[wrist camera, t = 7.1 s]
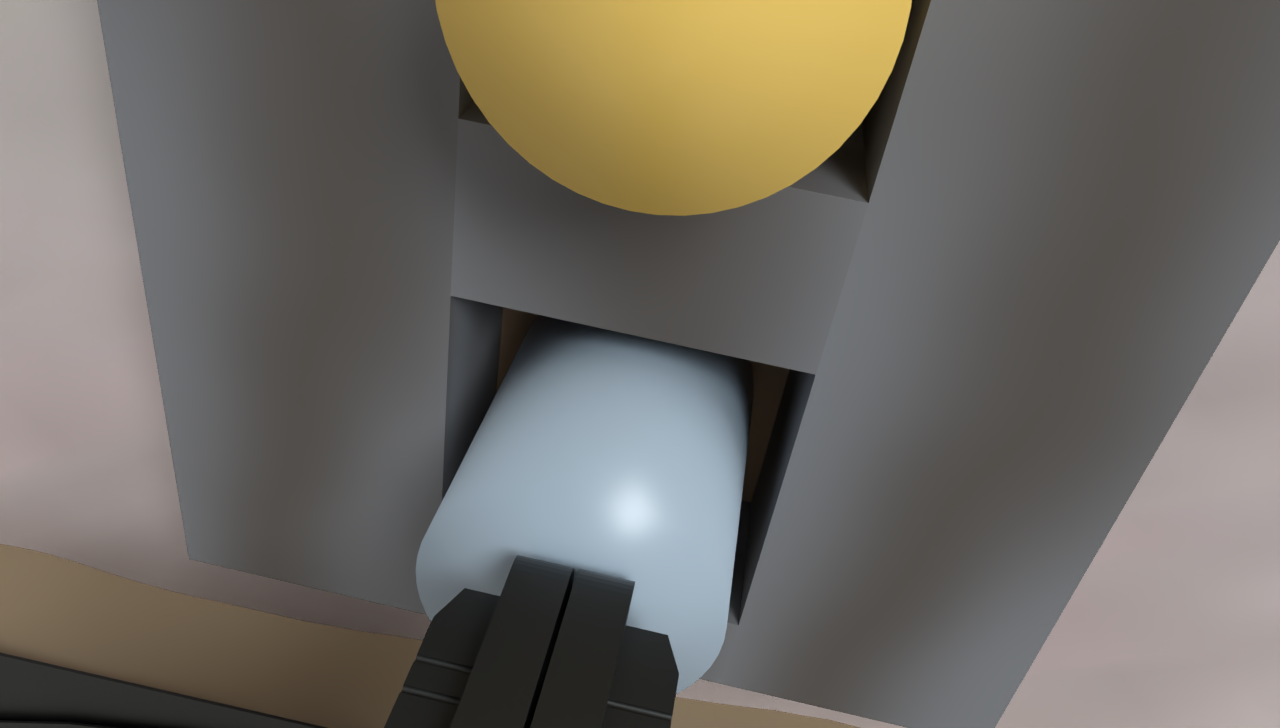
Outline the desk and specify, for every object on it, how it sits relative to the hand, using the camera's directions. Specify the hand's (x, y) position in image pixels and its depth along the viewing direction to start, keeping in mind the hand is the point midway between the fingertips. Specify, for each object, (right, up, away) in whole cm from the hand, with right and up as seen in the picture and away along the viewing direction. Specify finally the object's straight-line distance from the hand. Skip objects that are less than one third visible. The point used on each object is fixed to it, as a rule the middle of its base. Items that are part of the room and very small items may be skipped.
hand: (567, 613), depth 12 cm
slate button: (+1, +3, +4) cm, 5 cm away
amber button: (+2, +9, 0) cm, 9 cm away
